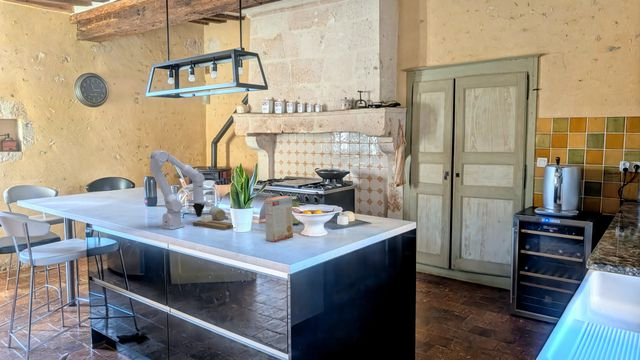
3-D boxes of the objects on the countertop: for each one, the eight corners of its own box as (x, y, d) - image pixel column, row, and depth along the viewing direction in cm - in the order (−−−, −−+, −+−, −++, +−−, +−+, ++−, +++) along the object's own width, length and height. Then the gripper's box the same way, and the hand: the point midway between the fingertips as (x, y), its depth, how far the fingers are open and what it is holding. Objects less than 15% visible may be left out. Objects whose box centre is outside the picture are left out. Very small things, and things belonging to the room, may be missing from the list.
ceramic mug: (215, 221, 272) (215, 208, 272) (208, 219, 278) (208, 207, 278) (231, 219, 279) (231, 207, 279) (224, 217, 285) (224, 205, 285)
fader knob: (205, 222, 258) (205, 216, 258) (201, 221, 260) (201, 215, 260) (212, 220, 262) (211, 215, 262) (208, 220, 264) (208, 214, 264)
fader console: (223, 230, 248) (223, 226, 247) (193, 225, 260) (192, 222, 260) (236, 227, 256) (236, 223, 256) (206, 222, 269) (206, 219, 269)
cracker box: (284, 235, 234) (284, 195, 232) (293, 237, 231) (293, 196, 229) (264, 240, 224) (264, 198, 222) (273, 242, 220) (273, 199, 218)
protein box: (298, 225, 260) (298, 198, 258) (271, 225, 259) (271, 198, 258) (299, 222, 270) (299, 196, 268) (273, 222, 270) (272, 196, 268)
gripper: (212, 193, 263) (213, 216, 264) (194, 191, 270) (195, 214, 272) (203, 194, 257) (203, 218, 258) (185, 193, 264) (186, 216, 266)
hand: (199, 216), depth 265 cm, fingers closed
